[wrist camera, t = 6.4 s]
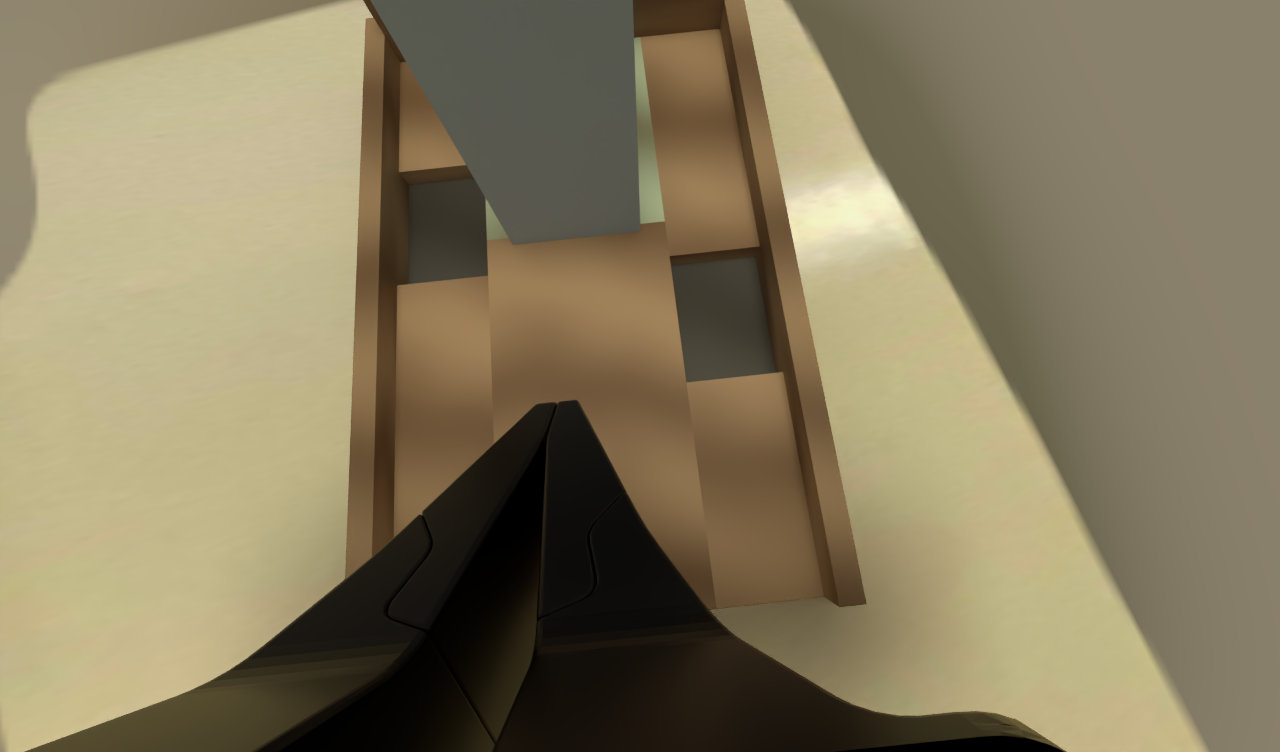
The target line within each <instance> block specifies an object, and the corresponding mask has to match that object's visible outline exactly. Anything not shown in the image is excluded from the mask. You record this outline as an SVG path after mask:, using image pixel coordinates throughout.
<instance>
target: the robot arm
mask: <svg viewBox="0 0 1280 752" xmlns="http://www.w3.org/2000/svg"><path fill="white" fill-rule="evenodd" d="M25 752H1066V751H1064V750H1063V749H1061V748H1060V747H1058V746H1057V745H1055V744H1054V743H1052V742H1051V741H1049V740H1048V739H1046V738H1045V737H1043V736H1042V735H1040V734H1038V733H1037V732H1035V731H1034V730H1032V729H1031V728H1029V727H1028V726H1026V725H1025V724H1023V723H1021V722H1020V721H1018V720H1016V719H1012V718H1009V717H1006V716H1003V715H1000V714H996V713H988V712H979V711H971V712H952V713H942V714H932V715H922V716H897V715H891V714H885V713H879V712H874V711H871V710H868V709H865V708H862V707H859V706H855V705H853V704H851V703H849V702H847V701H845V700H842V699H840V698H838V697H836V696H835V695H833V694H831V693H830V692H828V691H826V690H825V689H823V688H821V687H820V686H818V685H816V684H815V683H813V682H811V681H810V680H808V679H806V678H804V677H803V676H801V675H799V674H798V673H796V672H794V671H793V670H791V669H789V668H788V667H786V666H784V665H783V664H781V663H779V662H778V661H776V660H774V659H773V658H771V657H769V656H768V655H766V654H764V653H763V652H761V651H759V650H758V649H756V648H754V647H753V646H751V645H749V644H748V643H746V642H744V641H743V640H741V639H740V638H738V637H737V636H735V635H734V634H733V633H731V632H730V631H729V630H728V629H727V628H726V627H725V626H724V625H723V624H722V623H721V622H720V621H719V620H718V619H717V618H716V617H715V616H714V615H713V613H712V612H711V611H710V610H709V609H708V607H707V606H706V605H705V604H704V602H703V601H702V600H701V599H700V597H699V596H698V595H697V593H696V592H695V591H694V590H693V588H692V587H691V586H690V584H689V583H688V582H687V580H686V579H685V578H684V577H683V575H682V574H681V573H680V571H679V570H678V569H677V568H676V566H675V565H674V564H673V562H672V561H671V560H670V558H669V557H668V556H667V555H666V553H665V552H664V551H663V549H662V548H661V547H660V545H659V544H658V542H657V541H656V540H655V538H654V537H653V535H652V534H651V533H650V531H649V530H648V528H647V527H646V525H645V523H644V522H643V520H642V518H641V517H640V515H639V513H638V511H637V510H636V508H635V506H634V504H633V502H632V501H631V499H630V497H629V495H628V494H627V492H626V490H625V488H624V486H623V484H622V482H621V480H620V478H619V476H618V474H617V473H616V471H615V469H614V467H613V465H612V463H611V461H610V459H609V457H608V455H607V454H606V452H605V450H604V448H603V446H602V444H601V442H600V440H599V438H598V436H597V435H596V433H595V431H594V429H593V427H592V425H591V423H590V421H589V419H588V417H587V416H586V414H585V412H584V410H583V408H582V406H581V404H580V402H579V401H578V400H567V401H560V402H558V404H557V403H556V402H548V403H538V404H536V405H535V406H534V407H533V408H531V409H530V410H529V411H528V412H527V413H526V414H525V415H524V416H523V417H522V418H521V419H520V420H519V421H518V422H517V423H516V424H514V425H513V426H512V427H511V428H510V429H509V430H508V431H507V432H506V433H505V434H504V435H503V436H502V437H501V438H500V439H499V440H497V441H496V442H495V443H494V444H493V445H492V446H491V447H490V448H489V449H488V450H487V451H486V452H485V453H484V454H483V455H481V456H480V457H479V458H478V459H477V460H476V461H475V462H474V463H473V464H472V465H471V466H470V467H469V468H468V469H467V470H466V471H464V472H463V473H462V474H461V475H460V476H459V477H458V478H457V479H456V480H455V481H454V482H453V483H452V484H451V485H450V486H449V487H447V488H446V489H445V490H444V491H443V492H442V493H441V494H440V495H439V496H438V497H437V498H436V499H435V500H434V501H433V502H432V503H430V504H429V505H428V506H427V507H426V508H425V509H424V510H423V511H422V515H418V516H416V517H415V518H414V519H413V520H412V521H411V522H410V523H409V524H408V525H407V526H406V527H405V528H404V529H403V530H402V531H400V532H399V533H398V534H397V535H396V536H395V537H394V538H393V539H392V540H390V541H389V542H388V543H387V544H386V545H385V546H384V547H383V548H382V549H380V550H379V551H378V552H377V553H376V554H375V555H374V556H372V557H371V558H370V559H369V560H368V561H367V562H365V563H364V564H363V565H362V566H361V567H359V568H358V569H357V570H356V571H355V572H353V573H352V574H351V575H350V576H349V577H347V578H346V579H345V580H344V581H343V582H341V583H340V584H339V585H338V586H336V587H335V588H334V589H333V590H332V591H330V592H329V593H328V594H327V595H325V596H324V597H323V598H322V599H320V600H319V601H318V602H317V603H315V604H314V605H313V606H312V607H311V608H309V609H308V610H307V611H306V612H304V613H303V614H302V615H301V616H299V617H298V618H297V619H296V620H295V621H293V622H292V623H291V624H290V625H288V626H287V627H286V628H285V629H283V630H282V631H281V632H280V633H279V634H277V635H276V636H275V637H274V638H272V639H271V640H270V641H269V642H267V643H266V644H265V645H264V646H263V647H261V648H260V649H259V650H257V651H256V652H255V653H253V654H252V655H251V656H249V657H248V658H247V659H245V660H244V661H243V662H241V663H240V664H238V665H236V666H235V667H233V668H232V669H230V670H229V671H227V672H225V673H224V674H222V675H220V676H218V677H216V678H215V679H213V680H211V681H209V682H207V683H205V684H203V685H201V686H199V687H197V688H195V689H193V690H190V691H188V692H186V693H183V694H181V695H178V696H176V697H173V698H170V699H167V700H165V701H162V702H159V703H156V704H154V705H151V706H148V707H145V708H143V709H140V710H137V711H134V712H132V713H129V714H126V715H124V716H121V717H118V718H115V719H113V720H110V721H107V722H104V723H102V724H99V725H96V726H93V727H91V728H88V729H85V730H82V731H80V732H77V733H74V734H72V735H69V736H66V737H63V738H61V739H58V740H55V741H52V742H50V743H47V744H44V745H41V746H39V747H36V748H33V749H31V750H28V751H25Z"/></svg>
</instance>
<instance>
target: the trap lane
mask: <svg viewBox="0 0 1280 752" xmlns="http://www.w3.org/2000/svg"><path fill="white" fill-rule="evenodd" d="M363 1H364V2H365V4H366V6H367V7H368V9H369V11H370V12H371V14H372V16H373V17H374V18H367V19H366V26H365V54H364V81H363V108H362V136H361V163H360V191H359V218H358V246H357V273H356V301H355V328H354V356H353V383H352V411H351V438H350V465H349V493H348V520H347V548H346V575H345V579H346V578H347V577H349V576H350V575H351V574H352V573H353V572H355V571H356V570H357V569H358V568H359V567H361V566H362V565H363V564H364V563H365V562H367V561H368V560H369V559H370V558H371V557H372V556H374V555H375V554H376V553H377V552H378V551H379V550H380V549H382V548H383V547H384V546H385V545H386V544H387V543H388V542H389V541H390V540H392V539H393V538H394V537H395V536H396V535H397V534H398V533H399V532H400V531H402V530H403V529H404V528H405V527H406V526H407V525H408V524H409V523H410V522H411V521H412V520H413V519H414V518H415V517H416V516H418V515H422V511H423V510H424V509H425V508H426V507H427V506H428V505H429V504H430V503H432V502H433V501H434V500H435V499H436V498H437V497H438V496H439V495H440V494H441V493H442V492H443V491H444V490H445V489H446V488H447V487H449V486H450V485H451V484H452V483H453V482H454V481H455V480H456V479H457V478H458V477H459V476H460V475H461V474H462V473H463V472H464V471H466V470H467V469H468V468H469V467H470V466H471V465H472V464H473V463H474V462H475V461H476V460H477V459H478V458H479V457H480V456H481V455H483V454H484V453H485V452H486V451H487V450H488V449H489V448H490V447H491V446H492V445H493V444H494V443H495V442H496V441H497V440H499V439H500V438H501V437H502V436H503V435H504V434H505V433H506V432H507V431H508V430H509V429H510V428H511V427H512V426H513V425H514V424H516V423H517V422H518V421H519V420H520V419H521V418H522V417H523V416H524V415H525V414H526V413H527V412H528V411H529V410H530V409H531V408H533V407H534V406H535V405H536V404H538V403H548V402H556V403H557V404H558V402H560V401H567V400H578V401H579V402H580V404H581V406H582V408H583V410H584V412H585V414H586V416H587V417H588V419H589V421H590V423H591V425H592V427H593V429H594V431H595V433H596V435H597V436H598V438H599V440H600V442H601V444H602V446H603V448H604V450H605V452H606V454H607V455H608V457H609V459H610V461H611V463H612V465H613V467H614V469H615V471H616V473H617V474H618V476H619V478H620V480H621V482H622V484H623V486H624V488H625V490H626V492H627V494H628V495H629V497H630V499H631V501H632V502H633V504H634V506H635V508H636V510H637V511H638V513H639V515H640V517H641V518H642V520H643V522H644V523H645V525H646V527H647V528H648V530H649V531H650V533H651V534H652V535H653V537H654V538H655V540H656V541H657V542H658V544H659V545H660V547H661V548H662V549H663V551H664V552H665V553H666V555H667V556H668V557H669V558H670V560H671V561H672V562H673V564H674V565H675V566H676V568H677V569H678V570H679V571H680V573H681V574H682V575H683V577H684V578H685V579H686V580H687V582H688V583H689V584H690V586H691V587H692V588H693V590H694V591H695V592H696V593H697V595H698V596H699V597H700V599H701V600H702V601H703V602H704V604H705V605H706V606H707V607H708V609H709V610H710V609H719V608H728V607H737V606H746V605H755V604H763V603H772V602H781V601H790V600H799V599H808V598H817V597H826V598H827V599H828V600H830V601H831V602H833V603H834V604H836V605H837V606H839V607H845V606H854V605H863V604H866V599H865V595H864V590H863V585H862V580H861V575H860V570H859V565H858V560H857V555H856V550H855V545H854V540H853V535H852V530H851V525H850V520H849V516H848V511H847V506H846V501H845V496H844V491H843V486H842V481H841V476H840V471H839V466H838V461H837V456H836V451H835V446H834V441H833V436H832V432H831V427H830V422H829V417H828V412H827V407H826V402H825V397H824V392H823V387H822V382H821V377H820V372H819V367H818V362H817V357H816V352H815V348H814V343H813V338H812V333H811V328H810V323H809V318H808V313H807V308H806V303H805V298H804V293H803V288H802V283H801V278H800V273H799V269H798V264H797V259H796V254H795V249H794V244H793V239H792V234H791V229H790V224H789V219H788V214H787V209H786V204H785V199H784V194H783V189H782V185H781V180H780V175H779V170H778V165H777V160H776V155H775V150H774V145H773V140H772V135H771V130H770V125H769V120H768V115H767V110H766V106H765V101H764V96H763V91H762V86H761V81H760V76H759V71H758V66H757V61H756V56H755V51H754V46H753V41H752V36H751V31H750V26H749V22H748V17H747V12H746V7H745V2H744V0H633V23H634V52H635V82H636V112H637V142H638V172H639V201H640V231H637V232H628V233H619V234H609V235H600V236H591V237H582V238H572V239H563V240H554V241H545V242H535V243H526V244H517V245H513V244H512V243H511V241H510V239H509V237H508V236H507V234H506V232H505V231H504V229H503V227H502V225H501V224H500V222H499V220H498V218H497V217H496V215H495V213H494V212H493V210H492V208H491V206H490V205H489V203H488V201H487V200H486V198H485V196H484V194H483V193H482V191H481V189H480V188H479V186H478V184H477V182H476V181H475V179H474V177H473V176H472V174H471V172H470V170H469V169H468V167H467V165H466V164H465V162H464V160H463V158H462V157H461V155H460V153H459V152H458V150H457V148H456V146H455V145H454V143H453V141H452V140H451V138H450V136H449V134H448V133H447V131H446V129H445V128H444V126H443V124H442V122H441V121H440V119H439V117H438V115H437V114H436V112H435V110H434V109H433V107H432V105H431V103H430V102H429V100H428V98H427V97H426V95H425V93H424V91H423V90H422V88H421V86H420V85H419V83H418V81H417V79H416V78H415V76H414V74H413V73H412V71H411V69H410V67H409V66H408V64H407V62H406V61H405V59H404V57H403V55H402V54H401V52H400V50H399V49H398V47H397V45H396V43H395V42H394V40H393V38H392V37H391V35H390V33H389V31H388V30H387V28H386V26H385V25H384V23H383V21H382V19H381V18H380V16H379V14H378V13H377V11H376V9H375V7H374V6H373V4H372V2H371V0H363Z"/></svg>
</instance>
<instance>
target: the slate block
mask: <svg viewBox="0 0 1280 752" xmlns="http://www.w3.org/2000/svg"><path fill="white" fill-rule="evenodd" d="M371 2H372V4H373V6H374V7H375V9H376V11H377V13H378V14H379V16H380V18H381V19H382V21H383V23H384V25H385V26H386V28H387V30H388V31H389V33H390V35H391V37H392V38H393V40H394V42H395V43H396V45H397V47H398V49H399V50H400V52H401V54H402V55H403V57H404V59H405V61H406V62H407V64H408V66H409V67H410V69H411V71H412V73H413V74H414V76H415V78H416V79H417V81H418V83H419V85H420V86H421V88H422V90H423V91H424V93H425V95H426V97H427V98H428V100H429V102H430V103H431V105H432V107H433V109H434V110H435V112H436V114H437V115H438V117H439V119H440V121H441V122H442V124H443V126H444V128H445V129H446V131H447V133H448V134H449V136H450V138H451V140H452V141H453V143H454V145H455V146H456V148H457V150H458V152H459V153H460V155H461V157H462V158H463V160H464V162H465V164H466V165H467V167H468V169H469V170H470V172H471V174H472V176H473V177H474V179H475V181H476V182H477V184H478V186H479V188H480V189H481V191H482V193H483V194H484V196H485V198H486V200H487V201H488V203H489V205H490V206H491V208H492V210H493V212H494V213H495V215H496V217H497V218H498V220H499V222H500V224H501V225H502V227H503V229H504V231H505V232H506V234H507V236H508V237H509V239H510V241H511V243H512V244H513V245H517V244H526V243H535V242H545V241H554V240H563V239H572V238H582V237H591V236H600V235H609V234H619V233H628V232H637V231H640V201H639V172H638V142H637V112H636V82H635V52H634V23H633V0H371Z"/></svg>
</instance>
